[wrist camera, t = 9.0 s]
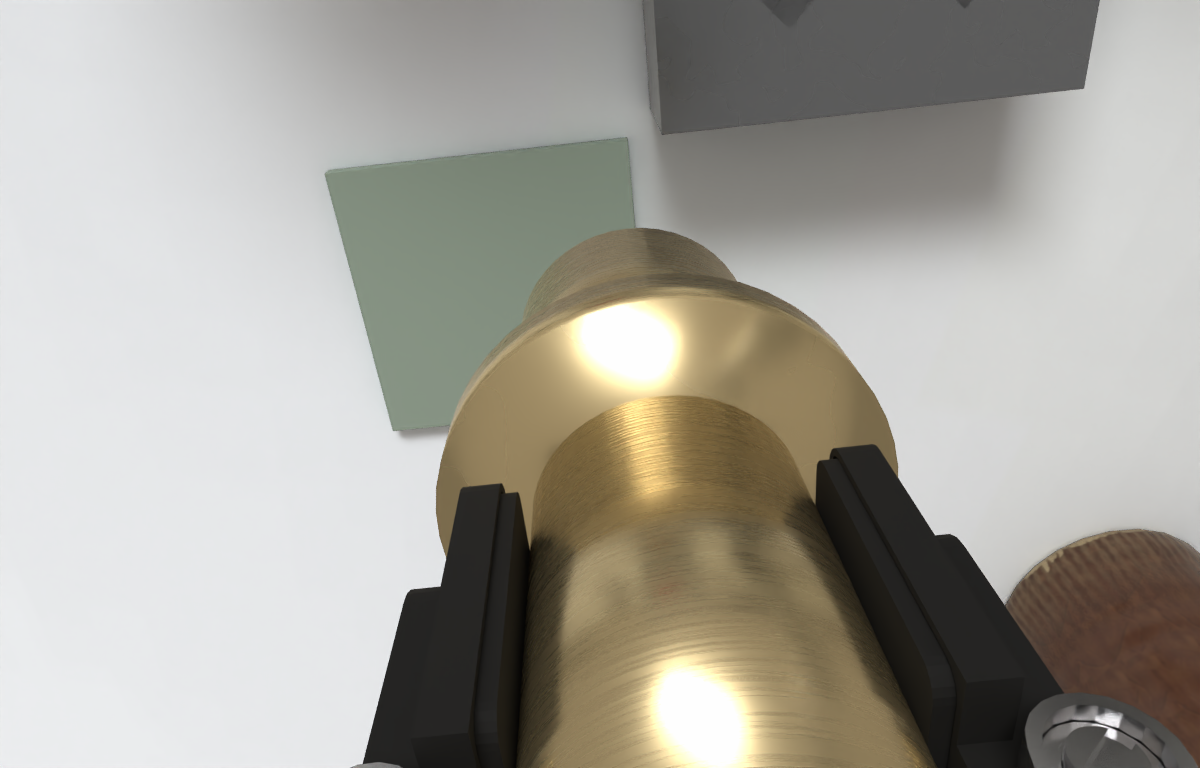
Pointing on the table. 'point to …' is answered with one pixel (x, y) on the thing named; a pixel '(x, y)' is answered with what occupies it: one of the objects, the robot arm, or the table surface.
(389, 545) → the table surface
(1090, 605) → the lamp
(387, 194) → the mat
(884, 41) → the block
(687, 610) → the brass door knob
